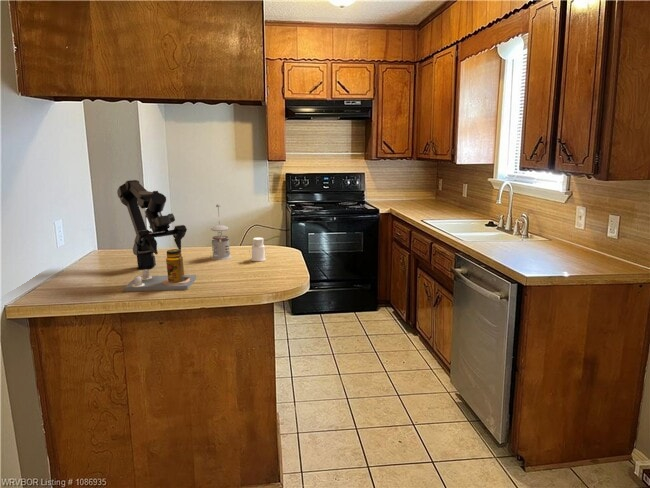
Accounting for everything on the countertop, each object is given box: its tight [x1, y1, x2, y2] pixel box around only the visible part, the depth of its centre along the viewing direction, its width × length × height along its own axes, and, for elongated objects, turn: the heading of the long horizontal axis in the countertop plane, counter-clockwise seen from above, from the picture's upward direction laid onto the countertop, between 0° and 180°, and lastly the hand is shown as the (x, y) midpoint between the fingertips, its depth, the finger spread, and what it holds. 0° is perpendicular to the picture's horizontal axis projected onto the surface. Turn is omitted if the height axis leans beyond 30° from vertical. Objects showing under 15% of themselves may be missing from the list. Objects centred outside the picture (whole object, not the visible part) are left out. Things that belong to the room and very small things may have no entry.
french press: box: [210, 203, 233, 261], centre depth 221 cm, size 10×12×25 cm
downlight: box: [248, 237, 268, 262], centre depth 216 cm, size 8×7×10 cm
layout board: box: [124, 269, 197, 292], centre depth 182 cm, size 23×14×5 cm, turn 93°
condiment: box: [165, 248, 190, 283], centre depth 181 cm, size 7×8×12 cm
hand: (168, 252), depth 183 cm, fingers open, 9 cm apart
